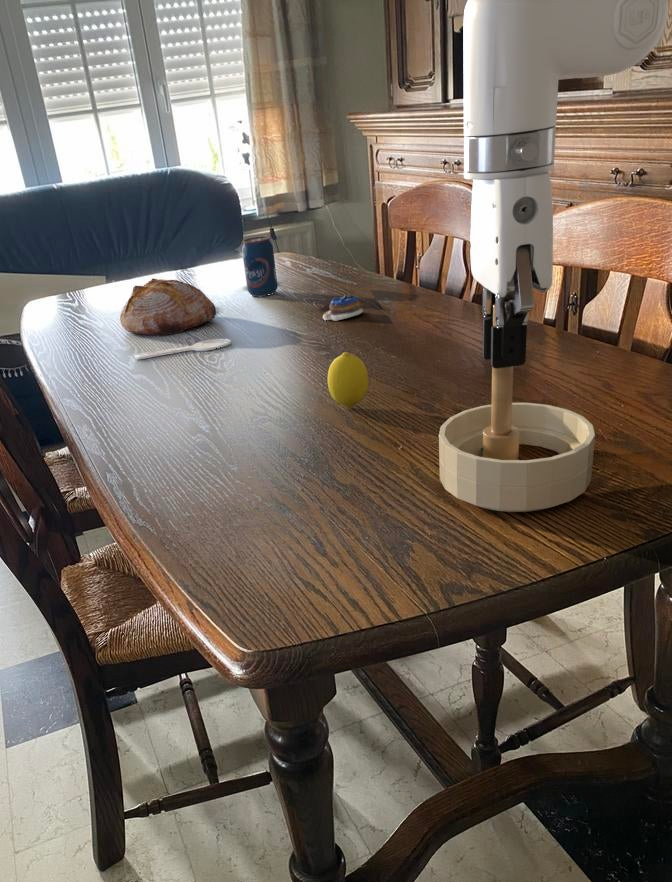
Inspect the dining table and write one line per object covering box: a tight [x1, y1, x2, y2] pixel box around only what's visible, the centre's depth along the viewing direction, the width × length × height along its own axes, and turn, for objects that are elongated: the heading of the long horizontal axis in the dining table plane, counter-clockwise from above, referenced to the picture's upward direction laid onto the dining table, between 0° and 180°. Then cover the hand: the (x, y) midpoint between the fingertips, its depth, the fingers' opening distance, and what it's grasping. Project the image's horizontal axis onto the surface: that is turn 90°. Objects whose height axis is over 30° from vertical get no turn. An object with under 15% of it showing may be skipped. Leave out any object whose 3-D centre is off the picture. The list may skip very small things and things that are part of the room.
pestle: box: [482, 302, 520, 460], centre depth 75 cm, size 4×4×17 cm
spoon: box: [133, 338, 232, 360], centre depth 138 cm, size 5×18×1 cm, turn 100°
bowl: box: [438, 402, 596, 513], centre depth 78 cm, size 15×15×6 cm
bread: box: [119, 277, 217, 337], centre depth 153 cm, size 16×20×10 cm
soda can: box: [241, 236, 279, 297], centre depth 168 cm, size 7×7×12 cm
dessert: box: [322, 294, 364, 322], centre depth 146 cm, size 8×7×6 cm
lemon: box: [327, 351, 370, 410], centre depth 102 cm, size 6×6×8 cm
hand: (503, 360), depth 73 cm, fingers closed on pestle, 2 cm apart
